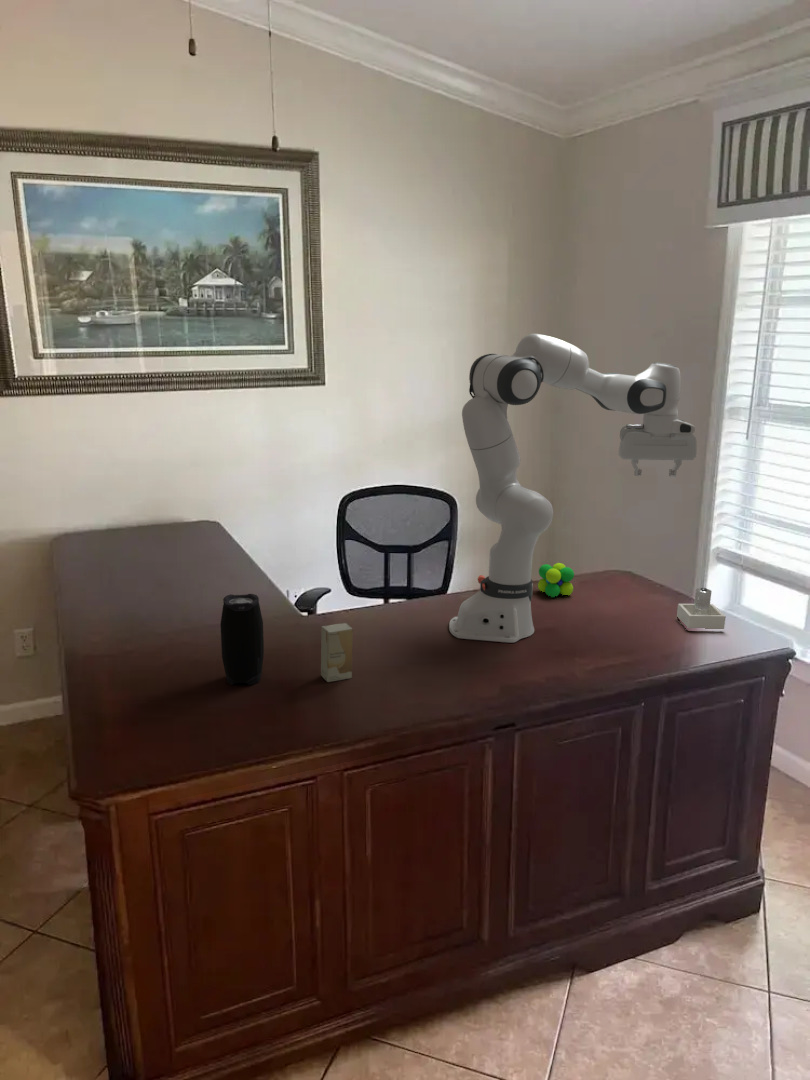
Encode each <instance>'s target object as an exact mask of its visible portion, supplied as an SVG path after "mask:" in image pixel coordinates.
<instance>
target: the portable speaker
mask: <svg viewBox="0 0 810 1080" xmlns="http://www.w3.org/2000/svg"><path fill="white" fill-rule="evenodd" d="M222 600H223V602H222V603H223V605H222V611H221V618H220V641H221V644H220V646H221V659H222V663H223V664H222V665H223V667H224V672H225V677H226V683H228V684H229V685H230V686H233V685H236V683H237V684H238V683H242V684H243V683H245V684H247V685H248V686H254V685H256V684H258V683H260V681H261V678H262V674H263V664H264V655H265V653H264V651H265V650H264V649H265V648H264V647H265V646H264V645H265V644H264V643H265V641H264V620H263V615H262V611H261V606H260V598H259V596H258V595H257V594H253V593H248V594H228V595H225V596H224V598H223V599H222Z"/></svg>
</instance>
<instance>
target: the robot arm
mask: <svg viewBox="0 0 810 1080" xmlns="http://www.w3.org/2000/svg"><path fill="white" fill-rule="evenodd" d="M680 371H681V370H680V368H679V367H678V366H676V365H674V364H670V363H664V362H652V363H650V365H649V367H648V368H646V369H645V370H644V371H642V372H640V373H637V374H635V375H631V374H630V375H629V374H622V373H619V372H606V373H602V372H599V371H597V370H595V369H593V368H590V360H589V357H588V355H587V353H586V352H585V351H583V350H582V349H580V348H579V347H578V346H576V345H574V344H572V343H569V342H568V341H565V340H562V339H561V338H560V339H559V338H557V337H553V336H550V335H546V334H542V333H541V334H540V333H530V334H527V335H525V336H524V337H522V339H520V341H519V342H518V344H517V347H516V349H515V351H514V353H513V354H512V355H506V354H496V353H488V354H483V355H481V356H479V357H478V358H476V359H475V360H474V362H473V363H472V364H471V366H470V369H469V378H468V380H469V388H468V393H469V395H470V396H471V397H472V398H471V399H469V400H467V402H466V403H465V404H464V405H463V407H462V411H461V417H462V425H463V428H464V429H463V431H464V433H465V437H466V441H467V444H468V447H469V451H470V453H471V455H472V459H473V461H474V465H475V467H476V470H477V475H478V481H479V484H478V485H479V488H478V490H477V493H476V495H475V503H476V504H475V505H476V509H478V511H479V512H480V513H481V514H482V515H483V516H484V517H486V518H487V519H488V520H489V521H492V522H494V523H496V524H498V525H500V527H501V531H500V534H499V538H498V540H497V542H496V543H494V544H493V545H492V546H491V547H490V550H489V558H488V576H486V577H485V575H483V574H482V575H479V576H477V582H478V584H480V585H479V588H480V589H479V591H477V592H476V593H474V594H473V595H471V596H470V597H468V598H467V599H465V600H464V601H462V602H461V604H460V606H459V609H458V613H457V616H453V617H452V618H451V619H450V621H449V622H448V623H449V624H448V630H449V632H450V634H451V635H452V636H454V637H455V638H457V639H465V640H474V641H487V642H500V643H517V642H518V641H520V640H521V639H524V638H527V637H531V636H532V635H533V634H534V633H535V627H534V623H533V617H532V616H533V615H532V607H531V606H532V605H531V603H532V602H531V601H532V598H533V591H534V590H533V588H534V584H533V580H532V570H533V559H534V558H533V557H534V551H535V547H536V545H537V543H538V540H539V537H540V536H541V535H542V534H543V533H544V532H546V531H547V529H548V528H549V527H550V526H551V524H552V522H553V520H554V519H553V518H554V508H553V505H552V503H551V502H550V500H548V499H547V498H546V497H545V496H544V495H542V494H541V493H539V492H538V491H536V490H533V489H529V488H526V487H524V486H522V485H521V484H520V482H519V481H518V477H517V476H518V475H517V469H518V468H519V466H520V464H521V455H520V453H519V449H518V447H517V443H516V441H515V437H514V434H513V431H512V429H511V426H510V422H509V421H508V408H509V407H508V406H509V405H511V406H522V405H525V404H528V403H530V402H531V401H532V400H534V398H535V397H537V395H538V393H539V390H540V389H541V385H542V383H544V384H547V385H549V386H552V387H555V388H559V389H561V390H562V389H564V390H570V391H571V390H577V391H580V392H582V393H584V394H586V395H589V396H590V397H592V398H593V399H594V400H595V401H596V403H597V404H598V405H599V406H600V407H601V408H602V409H604V410H607V411H613V412H614V411H615V412H621V413H627V414H632V415H643V418H642V424H626V425H624V426H622V428H621V429H620V430H619V431H620V433H619V439H620V443H619V447H618V456H619V457H620V458H621V459H622V460H630V463H631V465H632V467H633V469H634V474H633V475H634V476H635V477H641V476H642V472H643V471H642V470H643V469H641V468H639V467H638V465H637V464H639V461H640V460H641V461H642V460H644V461H645V460H646V461H647V460H648V461H651V460H652V461H673V463H674V466H673V467H672V468H669V470H668V471H669V472H668V476H669V477H677V471H678V470H679V469H680V467H682V464H683V461H693V460H694V459H695V458H696V457H697V447H698V445H697V437H696V436H695V435H694V433H695V431H696V426H695V425H693V424H691V423H690V422H686V421H685V420H683V419H679V410H678V404H679V401H680V399H681V389H682V387H681V386H682V377H681V372H680Z"/></svg>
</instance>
